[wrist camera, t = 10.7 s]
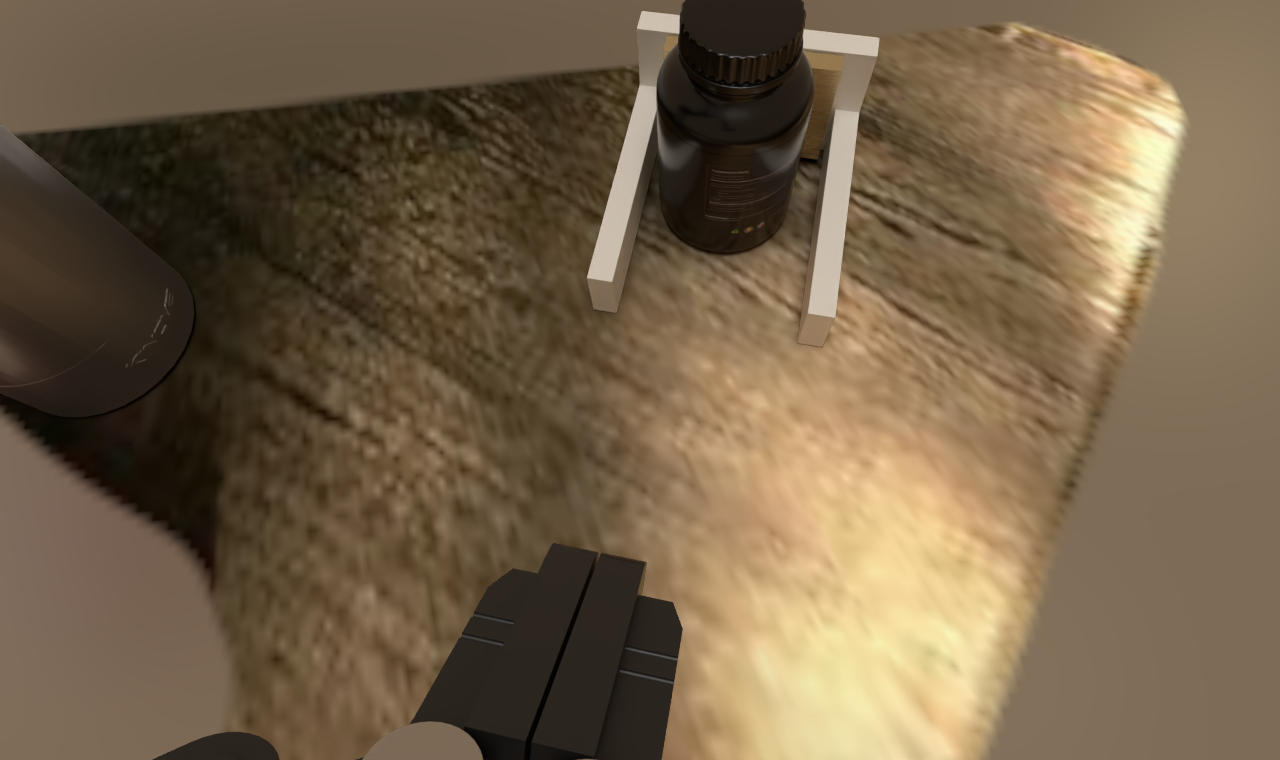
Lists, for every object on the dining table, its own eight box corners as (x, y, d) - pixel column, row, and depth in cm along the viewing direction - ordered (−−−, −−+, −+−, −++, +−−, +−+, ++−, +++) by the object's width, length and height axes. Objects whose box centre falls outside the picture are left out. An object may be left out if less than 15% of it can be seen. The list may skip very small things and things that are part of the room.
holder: (593, 309, 36) (577, 234, 30) (646, 109, 41) (642, 11, 35) (822, 347, 34) (853, 276, 28) (848, 135, 39) (879, 38, 33)
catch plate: (664, 138, 39) (663, 49, 34) (668, 125, 40) (667, 34, 34) (817, 159, 38) (841, 71, 33) (819, 145, 39) (843, 55, 33)
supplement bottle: (643, 171, 39) (631, -30, 28) (760, 139, 40) (794, -71, 29) (682, 274, 36) (686, 95, 25) (807, 238, 37) (865, 48, 26)
